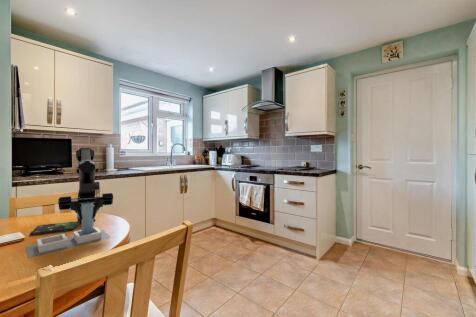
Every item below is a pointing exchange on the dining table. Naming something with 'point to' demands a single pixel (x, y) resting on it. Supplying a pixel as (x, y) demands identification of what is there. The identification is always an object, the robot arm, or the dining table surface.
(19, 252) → the dining table surface
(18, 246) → the dining table surface
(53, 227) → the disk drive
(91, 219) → the plug
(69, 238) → the grey double socket base
